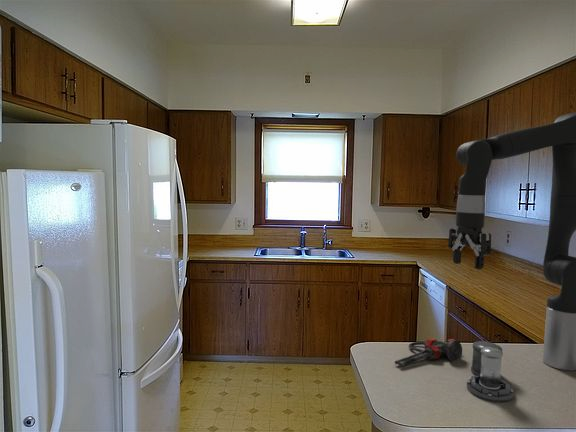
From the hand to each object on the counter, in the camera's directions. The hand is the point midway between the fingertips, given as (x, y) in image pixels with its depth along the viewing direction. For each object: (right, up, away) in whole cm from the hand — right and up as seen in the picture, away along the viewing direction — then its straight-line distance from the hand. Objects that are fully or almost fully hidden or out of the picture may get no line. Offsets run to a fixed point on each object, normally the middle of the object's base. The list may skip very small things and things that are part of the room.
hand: (467, 266), depth 120 cm
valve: (-10, -30, +9) cm, 33 cm away
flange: (0, -31, -12) cm, 34 cm away
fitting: (0, -30, -12) cm, 33 cm away
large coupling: (+4, -31, -2) cm, 31 cm away
